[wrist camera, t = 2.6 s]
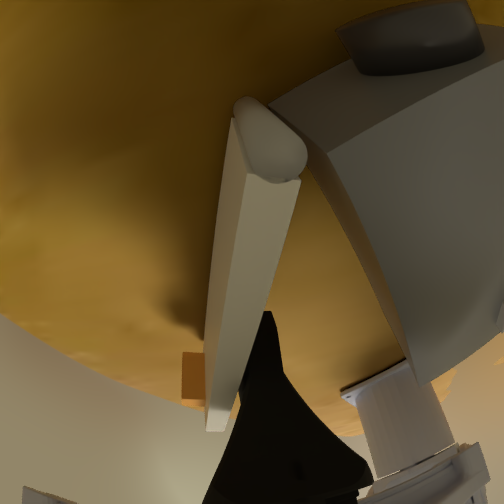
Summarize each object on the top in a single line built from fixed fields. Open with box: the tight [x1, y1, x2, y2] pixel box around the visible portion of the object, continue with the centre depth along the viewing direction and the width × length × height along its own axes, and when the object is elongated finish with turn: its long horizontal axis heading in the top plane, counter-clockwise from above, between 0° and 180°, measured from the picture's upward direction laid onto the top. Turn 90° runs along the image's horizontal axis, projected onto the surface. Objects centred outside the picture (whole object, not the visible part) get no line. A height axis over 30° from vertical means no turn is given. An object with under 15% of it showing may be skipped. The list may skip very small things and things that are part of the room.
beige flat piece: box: [182, 96, 308, 432], centre depth 9 cm, size 12×2×4 cm, turn 170°
